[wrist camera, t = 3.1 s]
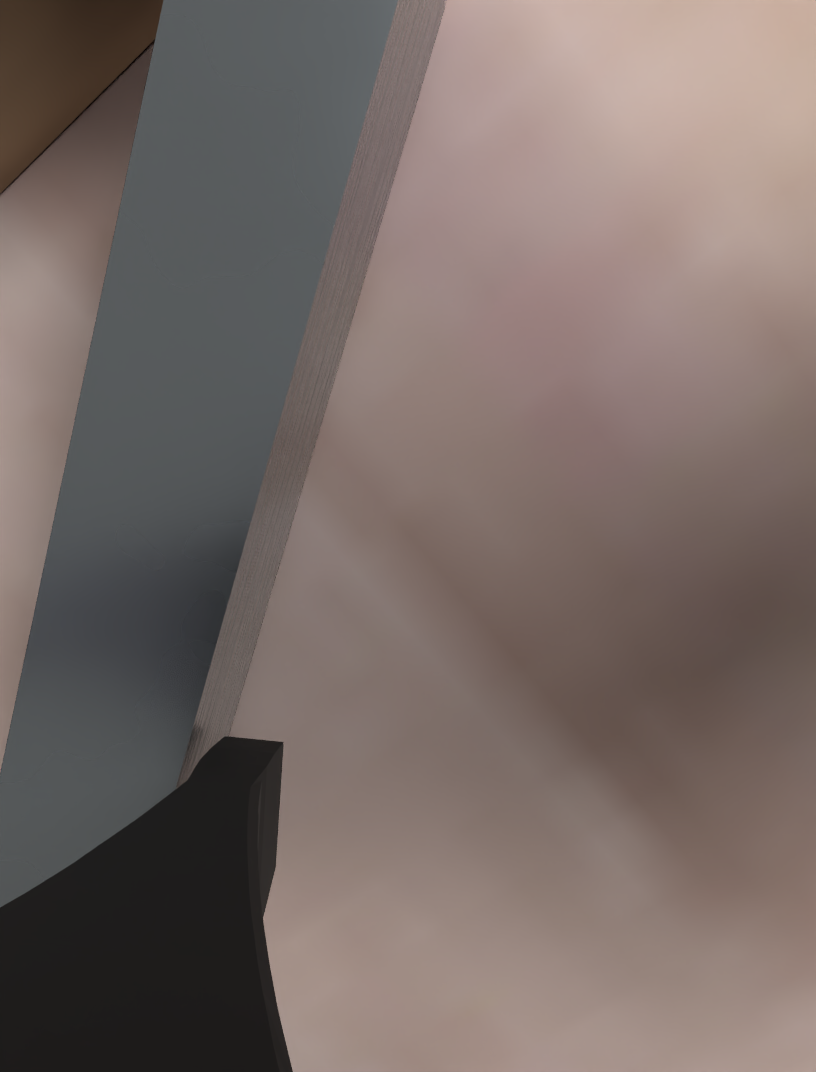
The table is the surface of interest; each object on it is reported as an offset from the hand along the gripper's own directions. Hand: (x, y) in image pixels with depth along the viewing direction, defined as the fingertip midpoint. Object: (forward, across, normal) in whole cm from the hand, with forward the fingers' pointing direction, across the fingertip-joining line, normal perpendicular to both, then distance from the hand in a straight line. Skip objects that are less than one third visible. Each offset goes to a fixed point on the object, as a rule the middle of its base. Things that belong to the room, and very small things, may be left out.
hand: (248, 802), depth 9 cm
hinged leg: (+2, +1, -5) cm, 5 cm away
